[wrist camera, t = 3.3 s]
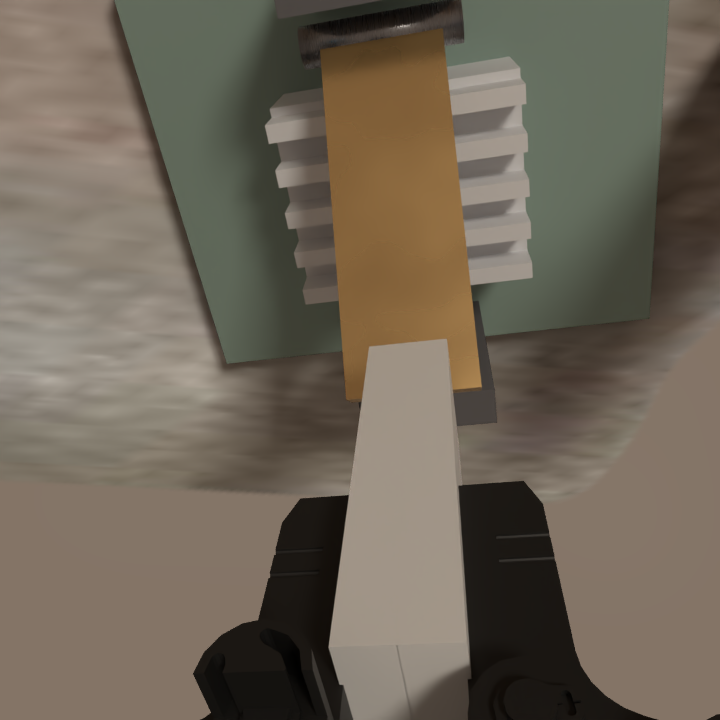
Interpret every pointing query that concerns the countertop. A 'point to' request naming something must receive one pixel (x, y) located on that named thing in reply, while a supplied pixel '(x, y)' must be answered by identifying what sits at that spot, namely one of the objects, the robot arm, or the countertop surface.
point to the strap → (395, 184)
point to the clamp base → (473, 149)
